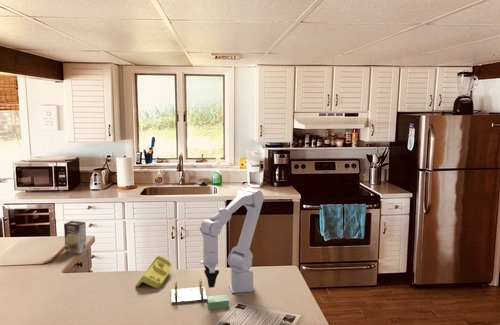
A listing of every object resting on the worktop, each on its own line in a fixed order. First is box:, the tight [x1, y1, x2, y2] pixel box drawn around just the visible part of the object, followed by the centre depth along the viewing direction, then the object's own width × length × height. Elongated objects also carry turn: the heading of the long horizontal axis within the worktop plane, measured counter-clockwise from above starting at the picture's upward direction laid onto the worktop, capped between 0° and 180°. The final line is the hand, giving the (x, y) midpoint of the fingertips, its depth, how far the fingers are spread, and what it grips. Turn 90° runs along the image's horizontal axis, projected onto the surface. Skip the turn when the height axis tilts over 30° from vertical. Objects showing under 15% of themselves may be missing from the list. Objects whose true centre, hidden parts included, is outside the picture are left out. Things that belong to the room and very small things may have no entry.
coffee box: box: [63, 220, 87, 255], centre depth 203 cm, size 9×6×16 cm
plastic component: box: [135, 255, 173, 289], centre depth 171 cm, size 20×7×10 cm
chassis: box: [171, 279, 207, 305], centre depth 155 cm, size 14×11×5 cm
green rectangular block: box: [206, 294, 230, 310], centre depth 149 cm, size 8×5×3 cm, turn 104°
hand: (210, 282), depth 149 cm, fingers open, 7 cm apart
